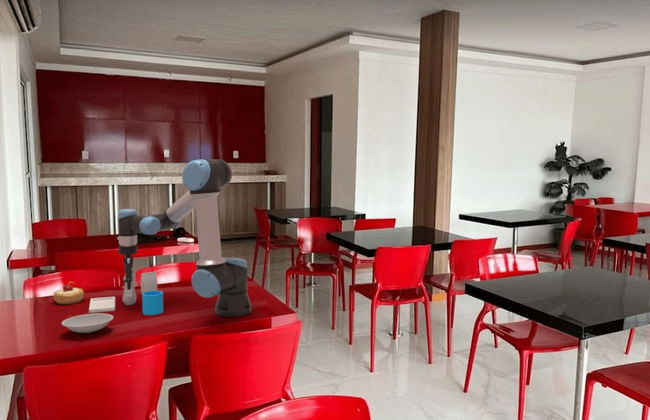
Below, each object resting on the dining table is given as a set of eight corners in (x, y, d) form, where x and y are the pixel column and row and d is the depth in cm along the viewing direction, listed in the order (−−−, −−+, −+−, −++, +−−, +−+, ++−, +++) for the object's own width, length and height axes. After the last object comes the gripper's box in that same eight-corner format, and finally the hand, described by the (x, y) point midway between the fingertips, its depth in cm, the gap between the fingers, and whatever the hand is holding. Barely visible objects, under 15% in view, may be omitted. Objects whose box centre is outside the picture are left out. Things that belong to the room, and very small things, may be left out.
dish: (110, 323, 206) (110, 311, 205) (116, 334, 194) (116, 321, 193) (60, 330, 197) (60, 317, 197) (63, 343, 185) (63, 329, 184)
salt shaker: (132, 301, 235) (131, 272, 234) (139, 303, 232) (138, 275, 230) (120, 303, 231) (119, 275, 229) (127, 306, 227) (126, 277, 226)
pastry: (48, 305, 230) (46, 285, 229) (69, 297, 241) (67, 278, 240) (69, 307, 226) (68, 287, 225) (90, 299, 237) (88, 280, 236)
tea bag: (157, 293, 249) (157, 272, 247) (142, 295, 245) (142, 274, 244) (155, 291, 252) (155, 271, 251) (141, 293, 248) (140, 272, 247)
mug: (163, 314, 218) (163, 295, 218) (142, 315, 216) (142, 296, 215) (162, 305, 230) (161, 287, 229) (142, 307, 227) (141, 289, 226)
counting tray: (114, 310, 221) (114, 307, 221) (88, 313, 218) (88, 309, 218) (115, 299, 237) (115, 296, 237) (90, 301, 233) (90, 298, 233)
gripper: (118, 239, 238) (119, 285, 241) (118, 250, 215) (119, 300, 218) (136, 239, 241) (136, 284, 244) (138, 249, 218) (138, 299, 221)
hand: (128, 292), depth 231 cm, fingers open, 13 cm apart
